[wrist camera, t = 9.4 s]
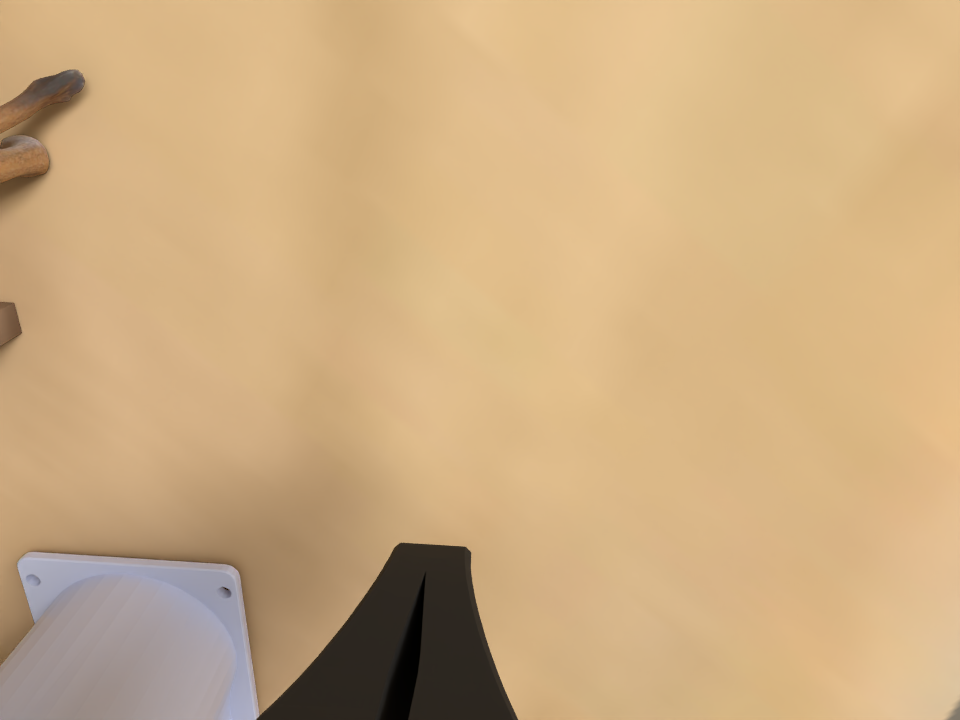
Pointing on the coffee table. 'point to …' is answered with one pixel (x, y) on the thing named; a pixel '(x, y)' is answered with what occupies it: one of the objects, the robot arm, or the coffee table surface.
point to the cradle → (8, 322)
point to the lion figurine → (21, 150)
